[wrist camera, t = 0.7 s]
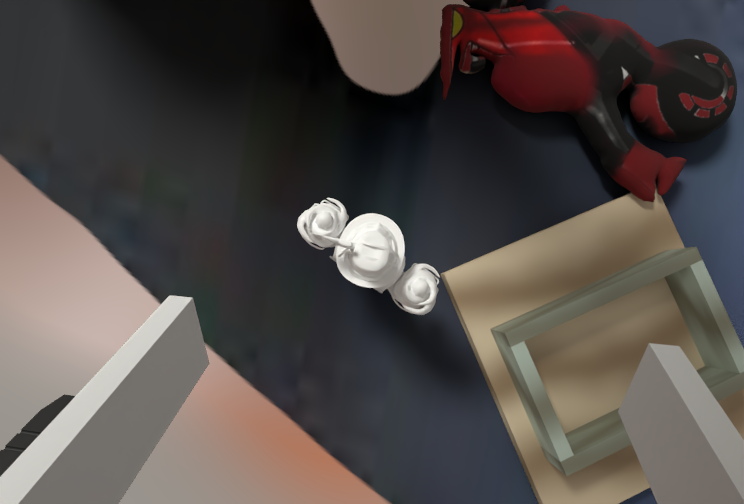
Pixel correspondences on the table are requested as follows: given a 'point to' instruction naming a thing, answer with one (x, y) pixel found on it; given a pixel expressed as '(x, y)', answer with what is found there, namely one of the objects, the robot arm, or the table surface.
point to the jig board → (591, 340)
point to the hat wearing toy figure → (370, 254)
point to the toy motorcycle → (595, 80)
